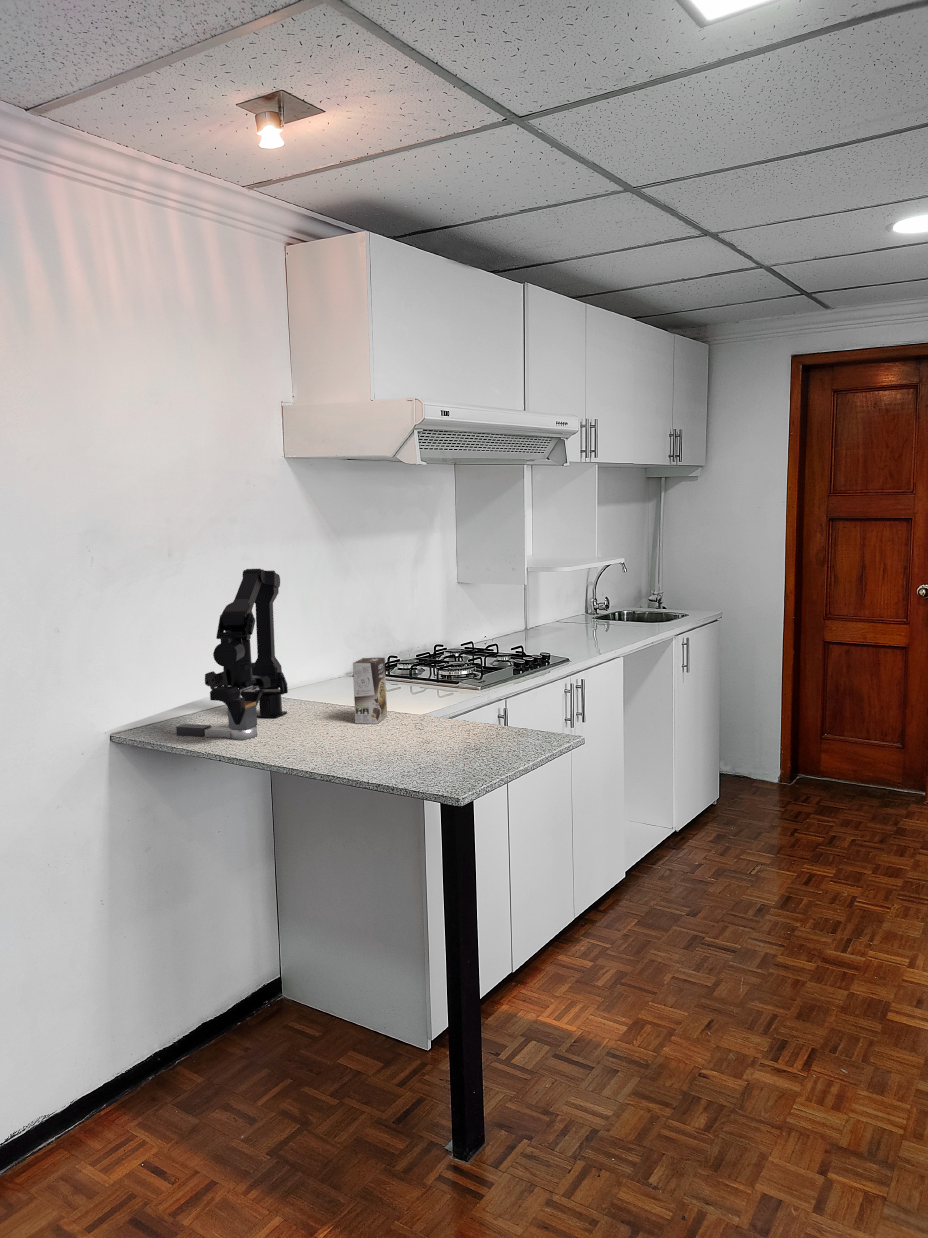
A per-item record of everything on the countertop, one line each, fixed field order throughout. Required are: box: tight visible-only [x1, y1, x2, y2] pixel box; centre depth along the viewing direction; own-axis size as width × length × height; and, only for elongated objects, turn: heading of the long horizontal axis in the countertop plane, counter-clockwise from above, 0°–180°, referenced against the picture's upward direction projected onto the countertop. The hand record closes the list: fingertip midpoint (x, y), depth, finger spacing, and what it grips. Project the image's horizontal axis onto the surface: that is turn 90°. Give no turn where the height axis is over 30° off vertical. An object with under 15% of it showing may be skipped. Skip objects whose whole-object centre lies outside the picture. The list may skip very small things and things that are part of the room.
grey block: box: [227, 701, 258, 730], centre depth 229 cm, size 5×5×6 cm
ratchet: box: [175, 723, 258, 741], centre depth 232 cm, size 6×22×5 cm, turn 71°
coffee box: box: [352, 657, 388, 725], centre depth 243 cm, size 9×6×16 cm
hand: (243, 722), depth 229 cm, fingers closed on grey block, 5 cm apart
